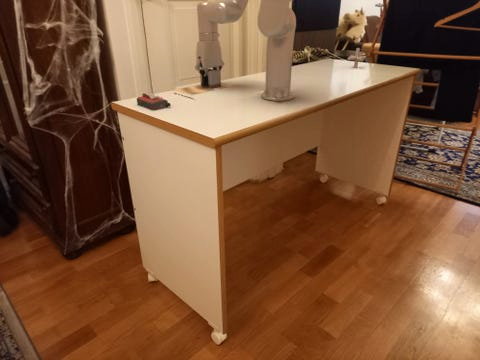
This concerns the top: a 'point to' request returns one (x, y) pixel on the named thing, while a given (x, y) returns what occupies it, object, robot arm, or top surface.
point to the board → (199, 89)
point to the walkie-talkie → (152, 102)
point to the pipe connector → (357, 57)
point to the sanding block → (213, 78)
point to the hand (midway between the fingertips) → (210, 84)
